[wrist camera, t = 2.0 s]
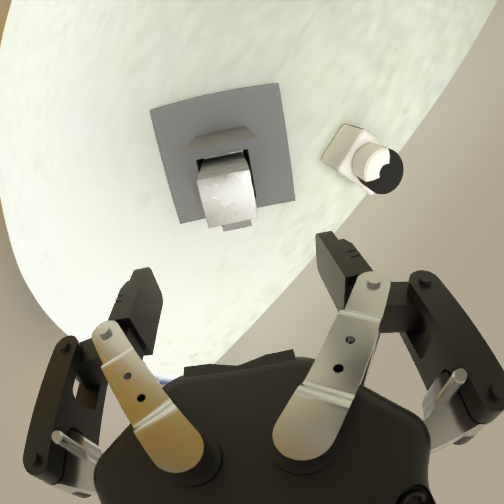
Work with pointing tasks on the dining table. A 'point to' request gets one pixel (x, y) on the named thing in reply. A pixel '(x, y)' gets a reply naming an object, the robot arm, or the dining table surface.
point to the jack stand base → (225, 145)
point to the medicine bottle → (364, 160)
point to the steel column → (226, 189)
